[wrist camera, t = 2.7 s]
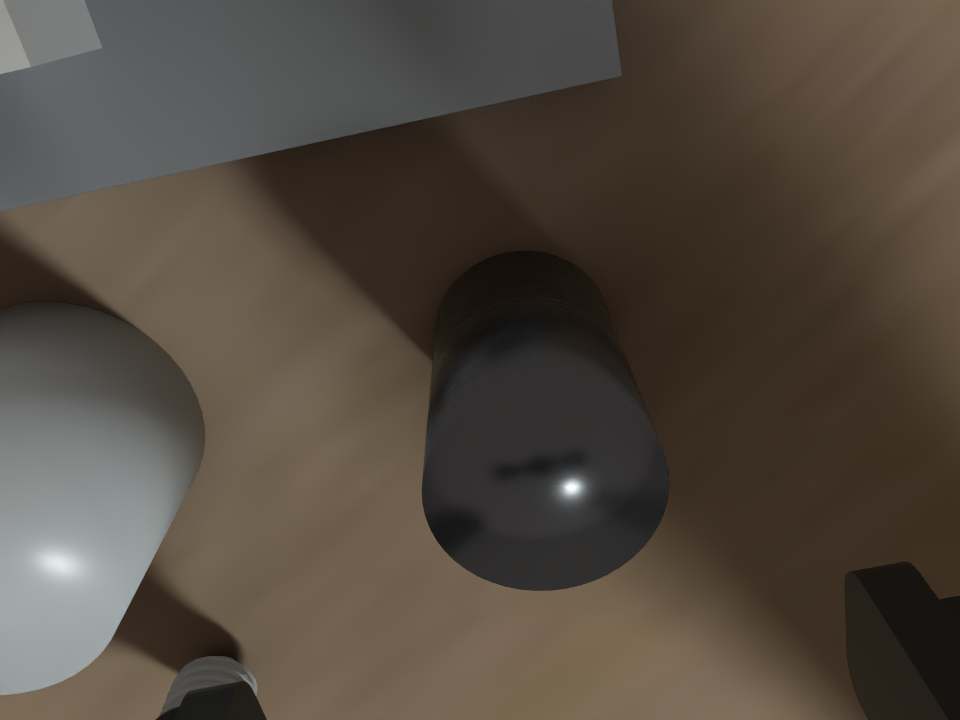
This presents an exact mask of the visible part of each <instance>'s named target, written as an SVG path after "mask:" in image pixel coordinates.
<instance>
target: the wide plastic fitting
mask: <svg viewBox="0 0 960 720" xmlns="http://www.w3.org/2000/svg"><path fill="white" fill-rule="evenodd" d="M204 446H205V426H204V421H203V415H202V411H201V408H200V405H199V401H198V398H197V396H196V394H195V392H194V390H193V388H192V386H191V384H190V382H189V381H188V379H187V377H186V376H185V374H184V373H183V371H182V370H181V368H180V367H179V366H178V365H177V364H176V362H175V361H174V360H173V359H172V358H171V356H170V355H169V354H168V353H167V352H166V351H164V350H163V349H162V348H161V347H160V346H159V345H158V344H157V343H156V342H155V341H153V340H152V339H151V338H149V337H148V336H147V335H145V334H144V333H143V332H141V331H140V330H138V329H136V328H135V327H133V326H131V325H130V324H128V323H126V322H124V321H122V320H120V319H118V318H116V317H114V316H111V315H109V314H107V313H104V312H101V311H98V310H95V309H92V308H88V307H84V306H79V305H75V304H68V303H59V302H33V303H26V304H19V305H15V306H11V307H8V308H4V309H1V310H0V695H8V694H16V693H24V692H29V691H33V690H37V689H42V688H45V687H48V686H51V685H53V684H56V683H59V682H61V681H63V680H65V679H67V678H69V677H71V676H73V675H75V674H77V673H78V672H80V671H81V670H82V669H84V668H85V667H87V666H88V665H90V664H91V663H92V662H93V661H94V660H95V659H96V658H97V657H98V656H99V655H100V654H101V653H102V652H103V650H104V649H105V648H106V646H107V645H108V644H109V642H110V641H111V639H112V637H113V635H114V633H115V631H116V629H117V628H118V626H119V624H120V622H121V620H122V618H123V616H124V614H125V612H126V610H127V608H128V606H129V604H130V602H131V600H132V598H133V596H134V595H135V593H136V591H137V589H138V587H139V585H140V583H141V581H142V579H143V577H144V575H145V573H146V571H147V569H148V567H149V565H150V563H151V562H152V560H153V558H154V556H155V554H156V552H157V550H158V548H159V546H160V544H161V542H162V540H163V538H164V536H165V534H166V532H167V530H168V529H169V527H170V525H171V523H172V521H173V519H174V517H175V515H176V513H177V511H178V509H179V507H180V505H181V503H182V501H183V499H184V497H185V496H186V494H187V492H188V490H189V488H190V486H191V484H192V482H193V480H194V478H195V476H196V474H197V472H198V470H199V467H200V464H201V461H202V458H203V453H204Z"/></svg>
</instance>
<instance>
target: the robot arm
mask: <svg viewBox="0 0 960 720" xmlns="http://www.w3.org/2000/svg"><path fill="white" fill-rule="evenodd" d="M845 613H846V645H847V661H848V667H849V672H850V676H851V680H852V683H853V686H854V689H855V692H856V695H857V697H858V700H859V702H860V704H861V706H862V708H863V710H864V712H865V714H866V716H867V718H868V720H960V596H956V597H951V598H945V599H938V597H937V596H936V595H935V593H934V592H933V591H932V589H931V588H930V586H929V585H928V584H927V582H926V581H925V580H924V578H923V577H922V576H921V574H920V573H919V572H918V570H917V569H916V568H915V567H914V566H913V565H912V564H911V563H909V562H900V563H895V564H889V565H884V566H878V567H873V568H867V569H862V570H856V571H851V572H848V573H847V574H846V576H845ZM175 720H267V719H266V717H265V715H264V713H263V710H262V708H261V706H260V704H259V702H258V700H257V697H256V695H255V693H254V691H253V689H252V687H251V686H250V685H249V683H247V682H246V681H239V682H234V683H228V684H223V685H217V686H212V687H206V688H201V689H195V690H191V691H189V692H188V693H187V694H186V695H185V696H184V698H183V700H182V702H181V705H180V708H179V710H178V713H177V716H176V719H175Z"/></svg>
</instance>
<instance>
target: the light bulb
mask: <svg viewBox="0 0 960 720" xmlns="http://www.w3.org/2000/svg"><path fill="white" fill-rule="evenodd" d="M239 681H246V682H247V683H249V685H250V686H251V687H252V689H253V691H254V693H255V695H257V684H256V680H255V678H254V677H253V675H252V674H251V672H250V671H249V670H248V669H247V668H245V667H244V666H242V665H241V664H240V663H238V662H236V661H235V660H234V659H232V658H231V657H226V656H207V657H203V658H198V659H195V660H193V661H192V662H190V663H188V664H187V665H185V666H184V667H183V668H182V669H181V671H180V672H179V674H178V675H177V677H176V678H175V680H174V681H173V683H172V686H171V689H170V691H169V693H168V696H167V698H166V702H165V704H164V706H163V708H162V712H161V714H160V715H159V717H158V718H157V719H156V720H175V719H176V716H177V713H178V710H179V708H180V705H181V702H182V700H183V698H184V696H185V695H186V694H187V693H188V692H189V691H191V690H195V689H201V688H206V687H212V686H217V685H223V684H228V683H234V682H239Z"/></svg>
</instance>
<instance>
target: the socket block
mask: <svg viewBox="0 0 960 720" xmlns="http://www.w3.org/2000/svg"><path fill="white" fill-rule="evenodd" d="M620 76H622V72H621V65H620V57H619V49H618V42H617V34H616V26H615V19H614V11H613V3H612V0H0V211H4V210H9V209H13V208H18V207H22V206H27V205H32V204H36V203H41V202H45V201H50V200H55V199H59V198H64V197H68V196H73V195H78V194H82V193H87V192H91V191H96V190H101V189H105V188H110V187H114V186H119V185H123V184H128V183H133V182H137V181H142V180H146V179H151V178H156V177H160V176H165V175H169V174H174V173H179V172H183V171H188V170H192V169H197V168H202V167H206V166H211V165H215V164H220V163H225V162H229V161H234V160H238V159H243V158H248V157H252V156H257V155H261V154H266V153H271V152H275V151H280V150H284V149H289V148H294V147H298V146H303V145H307V144H312V143H316V142H321V141H326V140H330V139H335V138H339V137H344V136H349V135H353V134H358V133H362V132H367V131H372V130H376V129H381V128H385V127H390V126H395V125H399V124H404V123H408V122H413V121H418V120H422V119H427V118H431V117H436V116H441V115H445V114H450V113H454V112H459V111H464V110H468V109H473V108H477V107H482V106H487V105H491V104H496V103H500V102H505V101H510V100H514V99H519V98H523V97H528V96H532V95H537V94H542V93H546V92H551V91H555V90H560V89H565V88H569V87H574V86H578V85H583V84H588V83H592V82H597V81H601V80H606V79H611V78H615V77H620Z"/></svg>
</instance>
